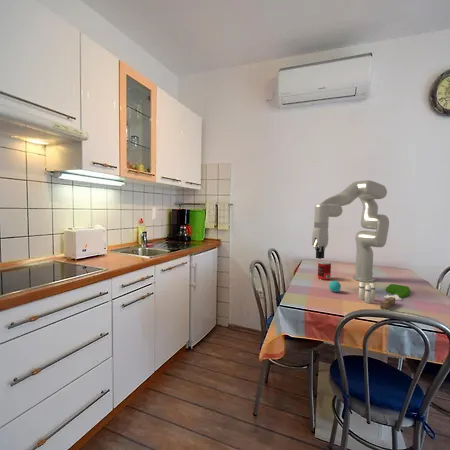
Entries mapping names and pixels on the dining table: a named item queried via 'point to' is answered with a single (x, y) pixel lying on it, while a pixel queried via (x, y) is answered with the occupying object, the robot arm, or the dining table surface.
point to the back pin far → (372, 291)
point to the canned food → (324, 270)
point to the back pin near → (367, 293)
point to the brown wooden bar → (387, 303)
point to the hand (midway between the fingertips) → (319, 257)
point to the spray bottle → (397, 291)
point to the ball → (334, 286)
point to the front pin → (361, 290)
